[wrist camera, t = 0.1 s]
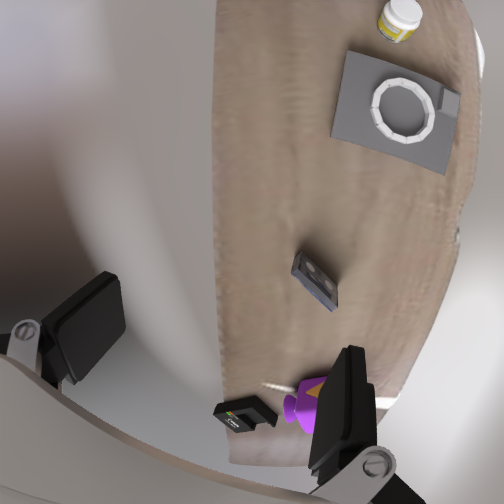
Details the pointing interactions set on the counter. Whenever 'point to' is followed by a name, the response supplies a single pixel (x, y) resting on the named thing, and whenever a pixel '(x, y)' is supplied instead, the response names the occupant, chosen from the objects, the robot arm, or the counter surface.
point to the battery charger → (245, 414)
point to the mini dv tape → (315, 281)
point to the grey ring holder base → (396, 112)
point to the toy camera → (304, 403)
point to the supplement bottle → (399, 20)
